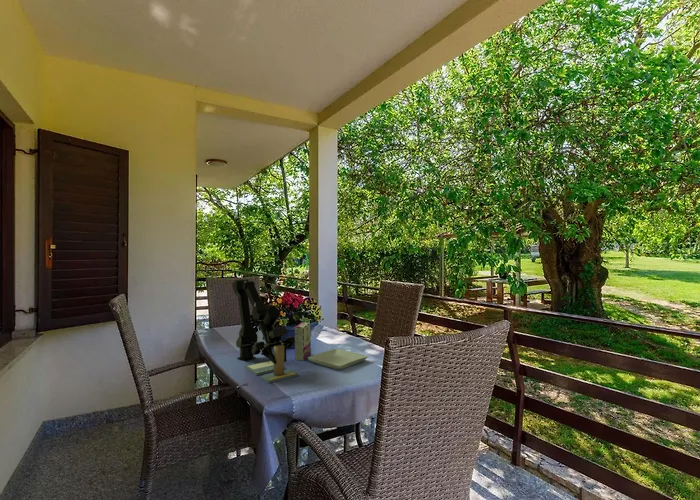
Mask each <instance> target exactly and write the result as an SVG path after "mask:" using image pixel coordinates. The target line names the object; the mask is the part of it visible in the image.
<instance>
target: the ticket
mask: <svg viewBox="0 0 700 500" xmlns="http://www.w3.org/2000/svg"><path fill="white" fill-rule="evenodd" d="M245 369H246V371H248V372H250V373H251V374H253V375H255V376H262V375H266V374H271V373H274V363H273V362H272V361H270V360H267V361H262V362H258V363H253V364H248V365H244V370H245ZM285 369H286V366H285V365H284V370H285Z"/></svg>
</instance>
